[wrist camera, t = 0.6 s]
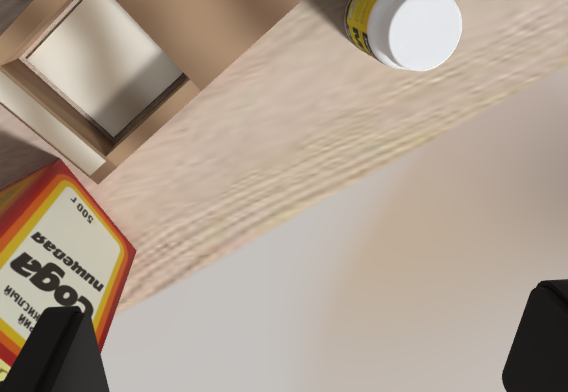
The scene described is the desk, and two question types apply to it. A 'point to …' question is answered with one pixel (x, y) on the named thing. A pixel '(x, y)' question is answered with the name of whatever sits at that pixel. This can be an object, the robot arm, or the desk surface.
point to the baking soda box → (56, 256)
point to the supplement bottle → (404, 31)
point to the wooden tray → (121, 67)
